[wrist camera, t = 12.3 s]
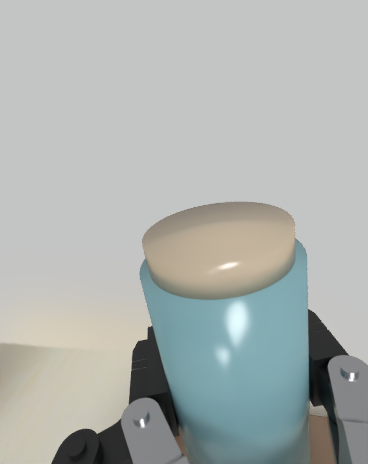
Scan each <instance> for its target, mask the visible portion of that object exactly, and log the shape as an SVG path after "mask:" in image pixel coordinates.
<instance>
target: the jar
mask: <svg viewBox="0 0 368 464" xmlns="http://www.w3.org/2000/svg"><path fill="white" fill-rule="evenodd" d="M142 244H143V249H144V253H145V257H146V259H145V260H144V262H143V263H142V266H141V268H140V280H141V283H142V287H143V291H144V295H145V299H146V302H147V307H148V310H149V314H150V318H151V321H152V326H153V329H154V333H155V337H156V341H157V345H158V348H159V352H160V356H161V360H162V364H163V367H164V371H165V375H166V378H167V382H168V385H169V389H170V393H171V397H172V401H173V405H174V408H175V412H176V416H177V420H178V424H179V428H180V432H181V436H182V440H183V444H184V447H185V451H186V455H187V459H188V462H189V464H310V406H309V346H308V291H307V290H308V286H307V254H306V250H305V248H304V247H303V245H302V244H301V243H300V242H299V241H298V240H297V239H295V223H294V219H293V218H292V216H291V215H290V214H289V213H288V212H286V211H284V210H283V209H281V208H278V207H275V206H272V205H268V204H263V203H255V202H225V203H215V204H209V205H203V206H199V207H194V208H191V209H187V210H184V211H181V212H178V213H175V214H173V215H170V216H168V217H166V218H164V219H163V220H160V221H159V222H157V223H156V224H154V225H153V226H152V227H151V228H149V229H148V231H147V232H146V233H145V234H144V236H143V239H142Z"/></svg>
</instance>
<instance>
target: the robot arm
mask: <svg viewBox="0 0 368 464" xmlns="http://www.w3.org/2000/svg"><path fill="white" fill-rule="evenodd" d="M308 346H309V399H310V401H311V402H312V404H313V406H314V407H315V406H320V405H323V406H324V408H325V409H326V411H327V422H328V428H329V433H330V439H331V444H332V450H333V456H334V461H335V464H368V365H366V364H365V363H364V362H363V361H361V360H360V359H358V358H355V357H352V356H349V355H348V353H346V351H345V350H344V349H343V347H342V346H341V345H340V344H339V343H338V341H337V340H336V339H335V338H334V336H333V335H332V334H331V332H330V331H329V330H327V328H326V326H325V325H324V324H323V323H322V322H321V320H320V319H319V318H318V316H317V315H316V314H315V313H314V312H312V311H310V310H309V309H308ZM176 436H180V435H179V424H178V420H177V416H176V412H175V408H174V405H173V401H172V397H171V393H170V389H169V385H168V382H167V378H166V375H165V371H164V367H163V364H162V360H161V356H160V352H159V348H158V345H157V341H156V337H155V333H154V329H153V326H151V327H148V339H147V340H142V341H138V342H137V344H136V346H135V348H134V350H133V355H132V371H131V382H130V396H129V405H128V407H127V408H126V409H125V410H124V412H123V415H122V418H121V419H120V420H119V421H118V422H117V423H116V424H114V425H113V426H111V427H109V428H107V429H106V430H104V431H102V432H100V433H98V434H96V432H95V431H93V430H91V429H81V430H78V431H76V432H74V433H72V434H71V435H69V436H68V437H67V438H66V439H65V440H64V441H63V442H62V444H61V445H60V447H59V449H58V451H57V453H56V455H55V457H54V459H53V461H52V463H51V464H189V462H188V460H187V458H186V456H185V455H184V454H182V452H181V451H180V449H179V446H178V444H177V442H176V440H175V438H174V437H176Z"/></svg>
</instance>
